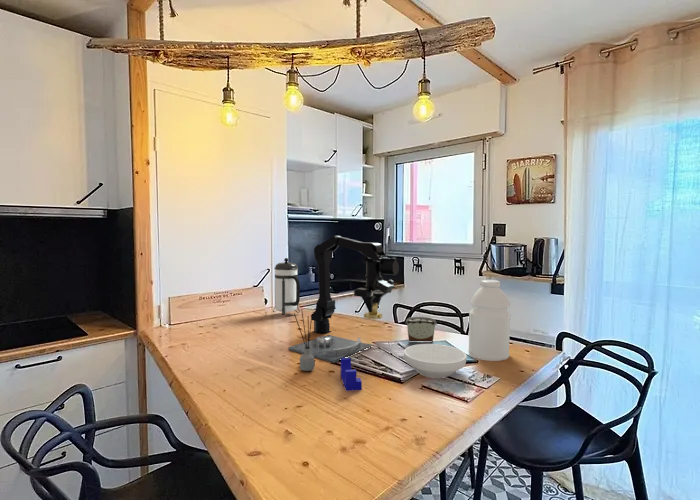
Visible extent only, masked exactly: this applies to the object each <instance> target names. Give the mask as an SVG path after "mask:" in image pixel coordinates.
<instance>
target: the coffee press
mask: <svg viewBox="0 0 700 500" xmlns="http://www.w3.org/2000/svg"><path fill="white" fill-rule="evenodd" d="M283 261H284V262H278V263H276V264H275V265H274V308H273V309H272V312H273V313H276V312H281V315H282V316H285V315H286V313H287V312H296V313H297V314H299V313H300V312H301V309H300V308H299V307H298V306H299V305H300V297H301V296H300V292H301V290H300V280H299V277H298V276H299V274H298V270H299V267H298V265H297V264H296V263H294V262H289V258H288V257H286V258H284V260H283ZM297 310H298V311H297Z"/></svg>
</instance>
